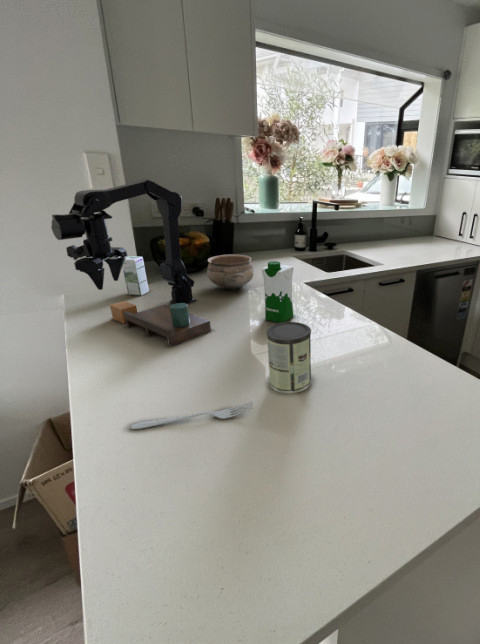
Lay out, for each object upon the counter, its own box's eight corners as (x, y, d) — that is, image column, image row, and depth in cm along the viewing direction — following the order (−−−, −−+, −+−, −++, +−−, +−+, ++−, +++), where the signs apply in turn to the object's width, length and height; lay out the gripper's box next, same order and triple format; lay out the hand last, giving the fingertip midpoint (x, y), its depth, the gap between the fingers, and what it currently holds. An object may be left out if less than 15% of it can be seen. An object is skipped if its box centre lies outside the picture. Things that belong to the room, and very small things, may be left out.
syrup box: (149, 291, 153) (143, 256, 147) (141, 296, 147) (134, 259, 142) (136, 290, 153) (129, 255, 148) (127, 295, 148) (120, 258, 142)
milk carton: (261, 320, 128) (258, 262, 120) (276, 311, 136) (274, 257, 128) (283, 325, 125) (281, 266, 117) (297, 316, 132) (296, 260, 124)
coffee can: (281, 368, 99) (279, 318, 93) (317, 376, 96) (317, 325, 90) (261, 388, 90) (257, 335, 84) (300, 397, 87) (299, 342, 81)
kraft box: (127, 314, 130) (124, 300, 128) (138, 319, 126) (136, 305, 124) (112, 318, 126) (109, 304, 124) (124, 324, 122) (120, 309, 120)
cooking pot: (202, 282, 165) (198, 255, 160) (243, 277, 174) (241, 251, 170) (218, 299, 146) (215, 269, 141) (264, 292, 155) (263, 263, 150)
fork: (132, 422, 77) (130, 415, 76) (252, 406, 83) (252, 399, 82) (128, 432, 74) (126, 425, 73) (253, 415, 80) (253, 408, 80)
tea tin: (183, 319, 118) (180, 301, 116) (193, 323, 115) (191, 305, 113) (169, 324, 114) (166, 306, 112) (179, 328, 112) (176, 310, 109)
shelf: (166, 313, 131) (164, 300, 130) (211, 330, 119) (209, 316, 117) (126, 326, 121) (123, 311, 119) (171, 346, 108) (168, 330, 107)
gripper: (87, 229, 121) (98, 276, 127) (48, 240, 104) (63, 294, 110) (123, 230, 121) (132, 276, 128) (89, 241, 104) (102, 294, 110)
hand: (108, 284), depth 119 cm, fingers open, 9 cm apart
